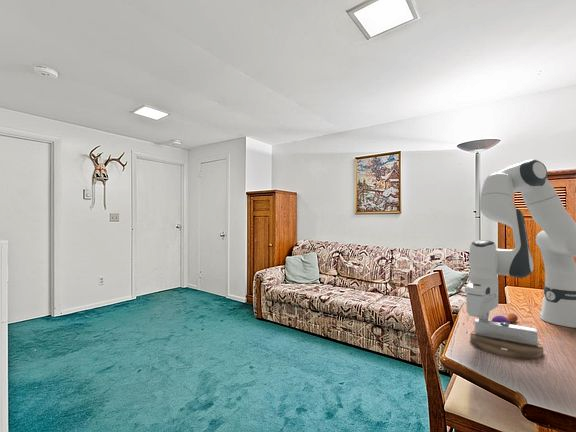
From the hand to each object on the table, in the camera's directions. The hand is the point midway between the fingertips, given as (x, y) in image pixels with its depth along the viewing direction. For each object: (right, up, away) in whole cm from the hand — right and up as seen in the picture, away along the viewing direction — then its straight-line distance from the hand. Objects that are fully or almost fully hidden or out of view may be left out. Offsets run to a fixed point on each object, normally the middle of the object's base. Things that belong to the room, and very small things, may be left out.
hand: (483, 323), depth 109 cm
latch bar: (+3, -3, -6) cm, 7 cm away
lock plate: (+3, -5, -6) cm, 9 cm away
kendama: (+17, -6, +12) cm, 21 cm away
